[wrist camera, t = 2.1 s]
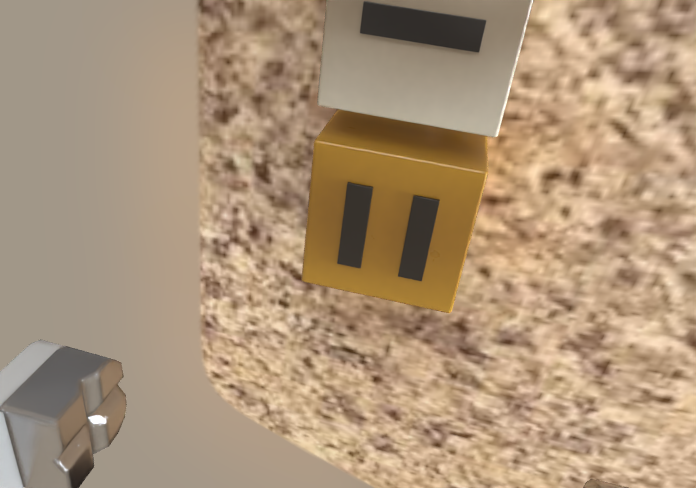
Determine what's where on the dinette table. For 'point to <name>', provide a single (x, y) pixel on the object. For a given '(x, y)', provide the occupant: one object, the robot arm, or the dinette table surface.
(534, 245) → the dinette table surface
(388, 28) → the white block
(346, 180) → the yellow striped cube
